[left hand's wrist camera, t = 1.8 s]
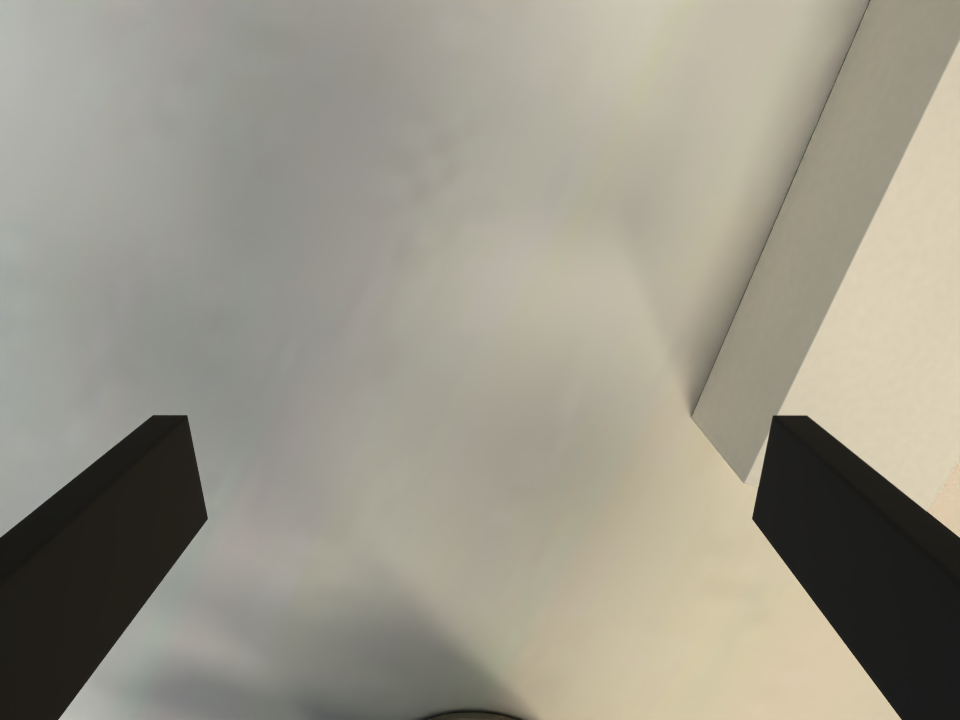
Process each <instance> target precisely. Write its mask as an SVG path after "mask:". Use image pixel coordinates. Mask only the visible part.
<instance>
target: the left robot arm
mask: <svg viewBox="0 0 960 720" xmlns="http://www.w3.org/2000/svg"><path fill="white" fill-rule="evenodd" d="M207 519H208V517H207V512H206V507H205V502H204V497H203V492H202V487H201V482H200V477H199V472H198V467H197V462H196V457H195V452H194V447H193V442H192V437H191V432H190V427H189V422H188V417H187V415H153V416H152V417H150V418H149V419H148V420H147V421H145V422H144V423H143V424H142V425H140V426H139V427H138V428H137V429H135V430H134V431H133V432H132V433H130V434H129V435H128V436H127V437H125V438H124V439H123V440H122V441H120V442H119V443H118V444H117V445H115V446H114V447H113V448H112V449H111V450H109V451H108V452H107V453H106V454H104V455H103V456H102V457H101V458H99V459H98V460H97V461H96V462H94V463H93V464H92V465H91V466H89V467H88V468H87V469H86V470H84V471H83V472H82V473H81V474H79V475H78V476H77V477H76V478H74V479H73V480H72V481H71V482H69V483H68V484H67V485H66V486H64V487H63V488H62V489H61V490H59V491H58V492H57V493H56V494H54V495H53V496H52V497H51V498H49V499H48V500H47V501H46V502H44V503H43V504H42V505H41V506H39V507H38V508H37V509H36V510H34V511H33V512H32V513H31V514H29V515H28V516H27V517H26V518H24V519H23V520H22V521H21V522H19V523H18V524H17V525H16V526H14V527H13V528H12V529H11V530H9V531H8V532H7V533H6V534H4V535H3V536H2V537H1V538H0V720H58V719H59V718H60V717H61V715H62V714H63V713H64V711H65V710H66V709H67V707H68V706H69V705H70V703H71V702H72V701H73V699H74V698H75V697H76V695H77V694H78V692H79V691H80V690H81V688H82V687H83V686H84V684H85V683H86V682H87V680H88V679H89V678H90V676H91V675H92V674H93V672H94V671H95V670H96V668H97V667H98V666H99V664H100V663H101V662H102V660H103V659H104V658H105V656H106V655H107V654H108V652H109V651H110V650H111V648H112V647H113V645H114V644H115V643H116V641H117V640H118V639H119V637H120V636H121V635H122V633H123V632H124V631H125V629H126V628H127V627H128V625H129V624H130V623H131V621H132V620H133V619H134V617H135V616H136V615H137V613H138V612H139V611H140V609H141V608H142V607H143V605H144V604H145V602H146V601H147V600H148V598H149V597H150V596H151V594H152V593H153V592H154V590H155V589H156V588H157V586H158V585H159V584H160V582H161V581H162V580H163V578H164V577H165V576H166V574H167V573H168V572H169V570H170V569H171V568H172V566H173V565H174V564H175V562H176V561H177V560H178V558H179V557H180V555H181V554H182V553H183V551H184V550H185V549H186V547H187V546H188V545H189V543H190V542H191V541H192V539H193V538H194V537H195V535H196V534H197V533H198V531H199V530H200V529H201V527H202V526H203V525H204V523H205V522H206V521H207ZM752 519H753V521H754V522H755V523H756V525H757V526H758V527H759V529H760V530H761V531H762V533H763V534H764V535H765V537H766V538H767V539H768V541H769V542H770V543H771V545H772V546H773V547H774V549H775V550H776V551H777V553H778V554H779V555H780V557H781V558H782V560H783V561H784V562H785V564H786V565H787V566H788V568H789V569H790V570H791V572H792V573H793V574H794V576H795V577H796V578H797V580H798V581H799V582H800V584H801V585H802V586H803V588H804V589H805V590H806V592H807V593H808V594H809V596H810V597H811V598H812V600H813V601H814V602H815V604H816V605H817V607H818V608H819V609H820V611H821V612H822V613H823V615H824V616H825V617H826V619H827V620H828V621H829V623H830V624H831V625H832V627H833V628H834V629H835V631H836V632H837V633H838V635H839V636H840V637H841V639H842V640H843V641H844V643H845V644H846V645H847V647H848V648H849V650H850V651H851V652H852V654H853V655H854V656H855V658H856V659H857V660H858V662H859V663H860V664H861V666H862V667H863V668H864V670H865V671H866V672H867V674H868V675H869V676H870V678H871V679H872V680H873V682H874V683H875V684H876V686H877V687H878V688H879V690H880V691H881V692H882V694H883V695H884V697H885V698H886V699H887V701H888V702H889V703H890V705H891V706H892V707H893V709H894V710H895V711H896V713H897V714H898V715H899V717H900V718H901V719H902V720H960V538H959V537H958V536H957V535H956V534H954V533H953V532H952V531H951V530H949V529H948V528H947V527H946V526H944V525H943V524H942V523H941V522H939V521H938V520H937V519H936V518H934V517H933V516H932V515H931V514H929V513H928V512H927V511H926V510H924V509H923V508H922V507H921V506H919V505H918V504H917V503H916V502H914V501H913V500H912V499H911V498H909V497H908V496H907V495H906V494H904V493H903V492H902V491H901V490H899V489H898V488H897V487H896V486H894V485H893V484H892V483H891V482H889V481H888V480H887V479H886V478H884V477H883V476H882V475H881V474H879V473H878V472H877V471H876V470H874V469H873V468H872V467H871V466H869V465H868V464H867V463H866V462H864V461H863V460H862V459H861V458H859V457H858V456H857V455H856V454H854V453H853V452H852V451H851V450H849V449H848V448H847V447H846V446H845V445H843V444H842V443H841V442H840V441H838V440H837V439H836V438H835V437H833V436H832V435H831V434H830V433H828V432H827V431H826V430H825V429H823V428H822V427H821V426H820V425H818V424H817V423H816V422H815V421H813V420H812V419H811V418H810V417H808V416H807V415H773V417H772V422H771V427H770V432H769V437H768V442H767V447H766V452H765V457H764V462H763V467H762V472H761V477H760V482H759V487H758V492H757V497H756V502H755V507H754V512H753V517H752ZM426 720H516V719H513V718H509V717H505V716H501V715H496V714H488V713H475V712H468V713H453V714H447V715H441V716H437V717H433V718H429V719H426Z"/></svg>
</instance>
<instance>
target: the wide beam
mask: <svg viewBox="0 0 960 720" xmlns="http://www.w3.org/2000/svg"><path fill="white" fill-rule="evenodd" d="M773 415H807V416H808V417H810V418H811V419H812V420H813V421H815V422H816V423H817V424H818V425H820V426H821V427H822V428H823V429H825V430H826V431H827V432H828V433H830V434H831V435H832V436H833V437H835V438H836V439H837V440H838V441H840V442H841V443H842V444H843V445H845V446H846V447H847V448H848V449H849V450H851V451H852V452H853V453H854V454H856V455H857V456H858V457H859V458H861V459H862V460H863V461H864V462H866V463H867V464H868V465H869V466H871V467H872V468H873V469H874V470H876V471H877V472H878V473H879V474H881V475H882V476H883V477H884V478H886V479H887V480H888V481H889V482H891V483H892V484H893V485H894V486H896V487H897V488H898V489H899V490H901V491H902V492H903V493H904V494H906V495H907V496H908V497H909V498H911V499H912V500H913V501H914V502H916V503H917V504H918V505H919V506H921V507H922V508H923V509H924V510H926V511H927V512H928V510H929V508H930V507H931V505H932V504H933V502H934V501H935V499H936V497H937V496H938V494H939V493H940V491H941V489H942V488H943V486H944V485H945V483H946V481H947V480H948V478H949V477H950V475H951V473H952V472H953V470H954V469H955V467H956V466H957V464H958V462H959V461H960V0H870V3H869V5H868V7H867V10H866V12H865V14H864V17H863V19H862V21H861V24H860V26H859V28H858V31H857V33H856V35H855V38H854V40H853V42H852V45H851V47H850V49H849V52H848V54H847V56H846V59H845V61H844V63H843V66H842V68H841V70H840V73H839V75H838V77H837V80H836V82H835V84H834V87H833V89H832V91H831V93H830V96H829V98H828V100H827V103H826V105H825V107H824V110H823V112H822V114H821V117H820V119H819V121H818V124H817V126H816V128H815V131H814V133H813V135H812V138H811V140H810V142H809V145H808V147H807V149H806V152H805V154H804V156H803V159H802V161H801V163H800V166H799V168H798V170H797V173H796V175H795V177H794V180H793V182H792V184H791V187H790V189H789V191H788V194H787V196H786V198H785V201H784V203H783V205H782V208H781V210H780V212H779V215H778V217H777V219H776V222H775V224H774V226H773V229H772V231H771V233H770V236H769V238H768V240H767V243H766V245H765V247H764V250H763V252H762V254H761V257H760V259H759V261H758V264H757V266H756V268H755V271H754V273H753V275H752V278H751V280H750V282H749V284H748V287H747V289H746V291H745V294H744V296H743V298H742V301H741V303H740V305H739V308H738V310H737V312H736V315H735V317H734V319H733V322H732V324H731V326H730V329H729V331H728V333H727V336H726V338H725V340H724V343H723V345H722V347H721V350H720V352H719V354H718V357H717V359H716V361H715V364H714V366H713V368H712V371H711V373H710V375H709V378H708V380H707V382H706V385H705V387H704V389H703V392H702V394H701V396H700V399H699V401H698V403H697V406H696V408H695V410H694V413H693V415H692V417H691V419H692V420H693V421H694V422H695V424H696V425H697V426H698V427H699V429H700V430H701V431H702V432H703V434H704V435H705V436H706V437H707V438H708V440H709V441H710V442H711V443H712V445H713V446H714V447H715V448H716V450H717V451H718V452H719V453H720V455H721V456H722V457H723V458H724V460H725V461H726V462H727V463H728V465H729V466H730V467H731V468H732V470H733V471H734V472H735V473H736V475H737V476H738V477H739V478H740V479H741V481H742V482H743V483H744V484H747V485H751V486H756V487H759V482H760V477H761V472H762V467H763V462H764V457H765V452H766V447H767V442H768V437H769V432H770V427H771V422H772V417H773Z"/></svg>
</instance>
